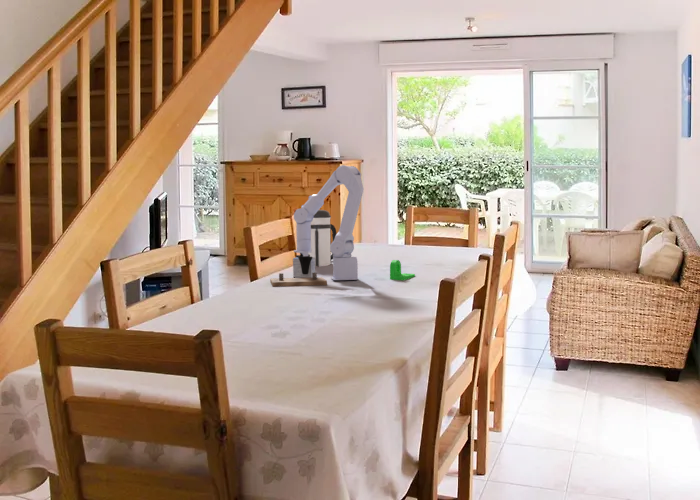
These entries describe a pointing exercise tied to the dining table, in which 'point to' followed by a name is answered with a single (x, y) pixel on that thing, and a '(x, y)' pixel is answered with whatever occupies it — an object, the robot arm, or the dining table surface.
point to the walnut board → (298, 281)
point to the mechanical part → (398, 271)
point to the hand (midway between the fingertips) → (304, 273)
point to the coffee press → (321, 238)
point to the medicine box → (298, 271)
